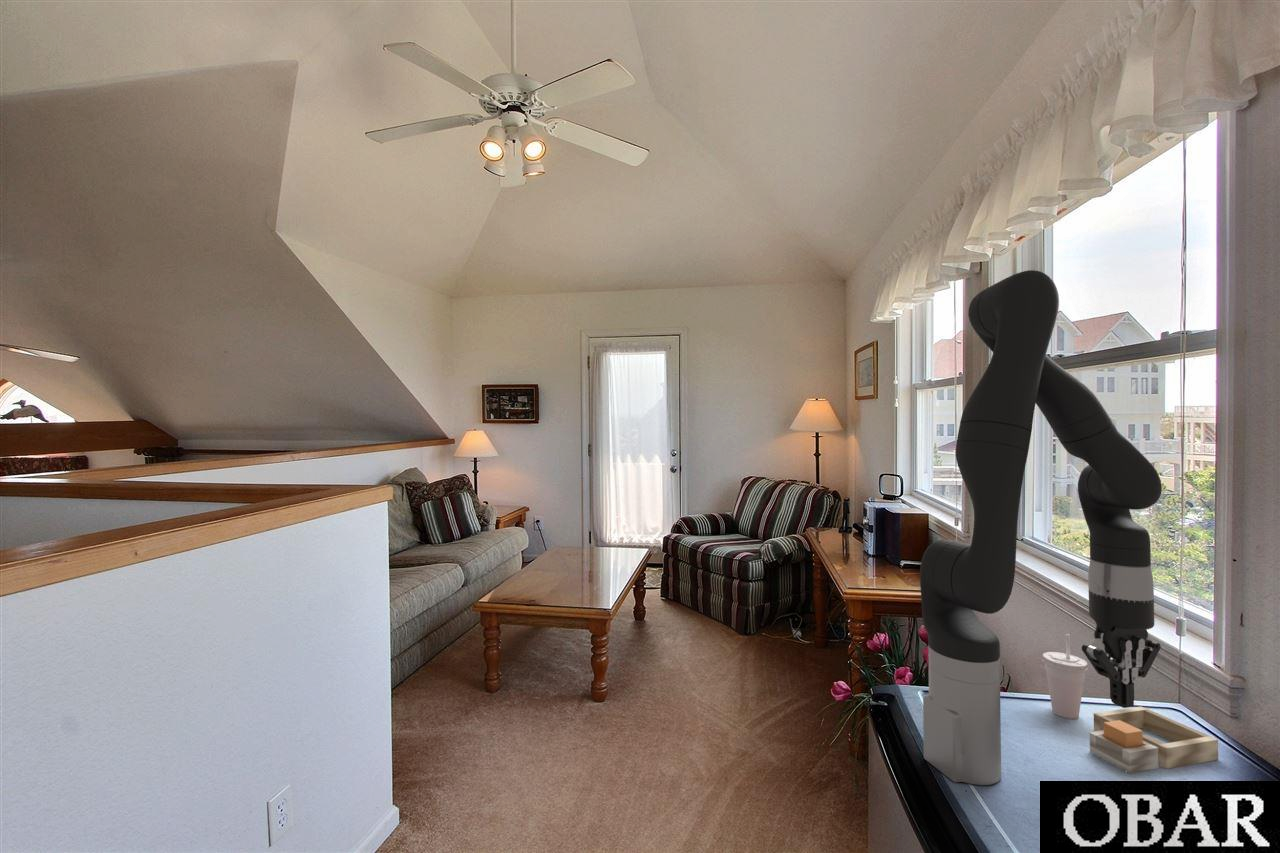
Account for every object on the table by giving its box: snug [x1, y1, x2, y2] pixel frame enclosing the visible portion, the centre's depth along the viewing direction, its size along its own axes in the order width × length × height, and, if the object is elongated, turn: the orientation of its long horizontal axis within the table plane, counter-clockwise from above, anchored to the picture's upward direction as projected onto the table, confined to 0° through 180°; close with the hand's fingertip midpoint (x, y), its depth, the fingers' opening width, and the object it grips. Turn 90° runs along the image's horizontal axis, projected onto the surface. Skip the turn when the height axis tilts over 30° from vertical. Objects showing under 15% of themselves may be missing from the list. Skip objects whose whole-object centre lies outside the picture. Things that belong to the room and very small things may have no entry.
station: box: [1089, 706, 1219, 774], centre depth 86 cm, size 17×10×3 cm, turn 103°
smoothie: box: [1042, 633, 1089, 720], centre depth 97 cm, size 6×6×14 cm
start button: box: [1104, 720, 1144, 748], centre depth 83 cm, size 3×3×2 cm
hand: (1122, 704), depth 83 cm, fingers closed
